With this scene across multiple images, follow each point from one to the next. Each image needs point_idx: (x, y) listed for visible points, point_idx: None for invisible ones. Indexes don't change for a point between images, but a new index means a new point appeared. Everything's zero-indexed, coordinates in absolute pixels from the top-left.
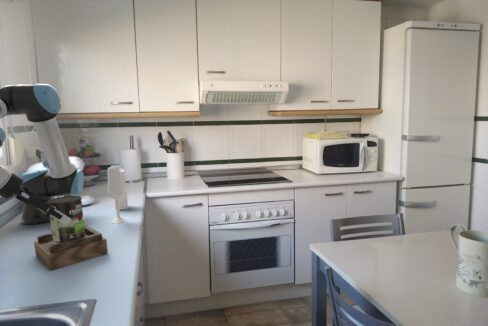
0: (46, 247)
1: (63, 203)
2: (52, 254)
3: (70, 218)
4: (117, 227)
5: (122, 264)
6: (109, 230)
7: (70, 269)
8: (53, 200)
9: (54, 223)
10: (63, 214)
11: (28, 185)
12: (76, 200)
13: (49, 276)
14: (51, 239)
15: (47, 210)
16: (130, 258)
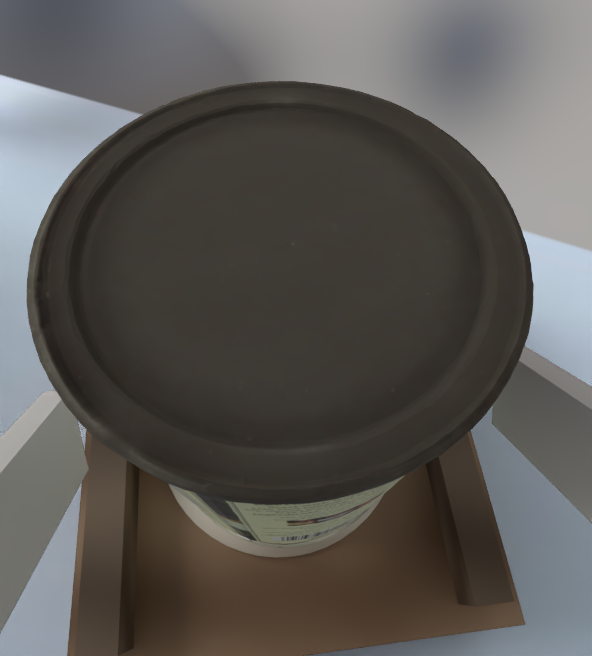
0: (319, 609)
1: (529, 302)
2: (516, 593)
3: (528, 350)
4: (27, 167)
5: (589, 293)
6: (37, 205)
7: (523, 508)
8: (168, 383)
9: (369, 503)
10: (585, 390)
11: None
12: (463, 152)
13: (572, 638)
14: (136, 539)
15: (32, 511)
16: (532, 249)
